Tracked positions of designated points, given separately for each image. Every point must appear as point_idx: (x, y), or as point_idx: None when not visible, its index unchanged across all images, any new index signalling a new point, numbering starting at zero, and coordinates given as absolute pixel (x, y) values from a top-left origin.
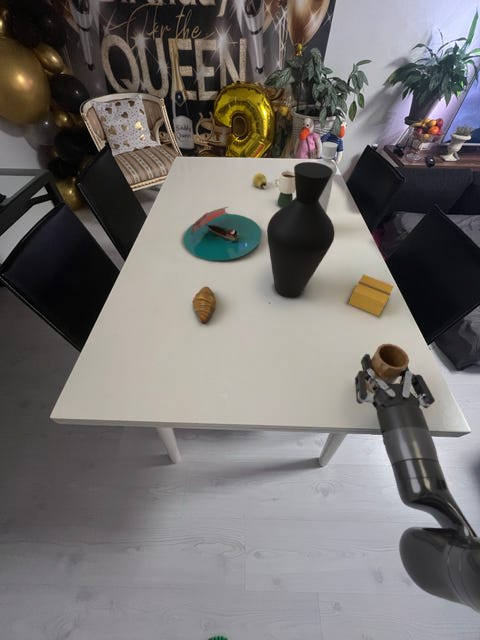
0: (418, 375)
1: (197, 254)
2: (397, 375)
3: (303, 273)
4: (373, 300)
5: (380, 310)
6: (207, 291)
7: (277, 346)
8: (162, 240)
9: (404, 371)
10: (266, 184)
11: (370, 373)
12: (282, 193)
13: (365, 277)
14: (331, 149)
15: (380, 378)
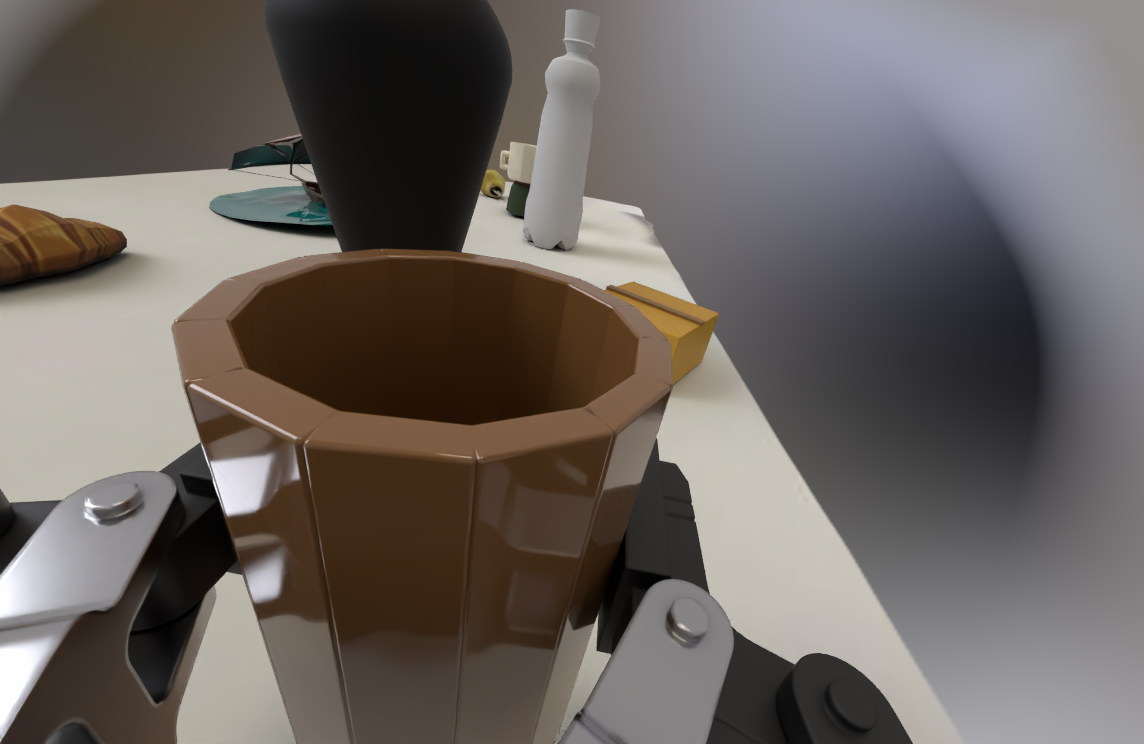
0: (829, 675)
1: (221, 210)
2: (459, 628)
3: (385, 176)
4: None
5: None
6: (74, 221)
7: (142, 410)
8: (171, 186)
9: (637, 584)
10: (503, 191)
11: (68, 536)
12: (515, 184)
13: (635, 286)
14: (582, 17)
15: (30, 649)
